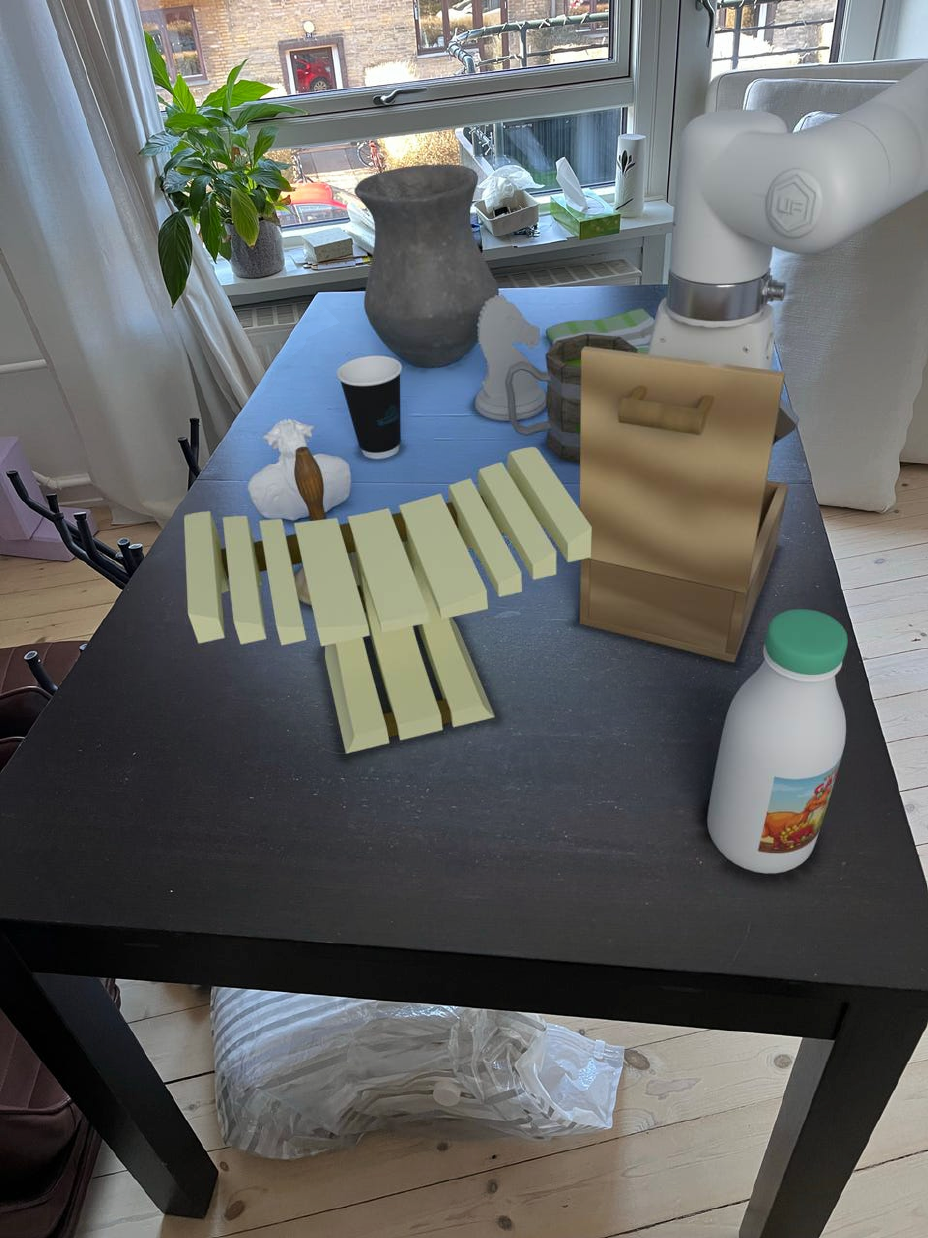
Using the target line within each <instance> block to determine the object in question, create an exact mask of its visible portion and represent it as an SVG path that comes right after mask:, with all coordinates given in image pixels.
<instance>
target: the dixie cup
mask: <svg viewBox="0 0 928 1238" xmlns="http://www.w3.org/2000/svg"><path fill="white" fill-rule="evenodd" d="M402 370H403V365H402V363H401V362H400V361H399V360H397V359H396V358H393V357H392V356H391V357H390V356H385V355H368V356H366V355H365V356H361V357H357V358H353V359H351V360H348V361H346V362H344V363H343V364H341V365H340V366H339V367H338V369H337V370H336V377H337V379H338V380H339V381H340V383H341V387H342V391H343V395H344V397H345V401H346V405H347V408H348V413H349V415H350V419H351V423H352V426H353V429H354V433H355V436H356V441H357V443H358V447H359V448H360V449H361V452H362V454H363V455H364V456H365V457H366V458H369V459H372V460H381V459H388V458H390V457H392V456H394V455H396V454H397V453H398V452H399V450H400V444H401V442H402V438H401V437H402V433H401V432H402V431H401V429H402V427H401V415H402V414H401V373H402Z"/></svg>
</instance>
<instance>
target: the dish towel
mask: <svg viewBox="0 0 928 1238" xmlns="http://www.w3.org/2000/svg"><path fill="white" fill-rule="evenodd" d="M654 321H655V318H653V317H652V316H651V315H650V314H649V313H648V312H647V311H646V310H645V309H644V308H636V309H632V310H630V311H627V312H623V313H621V314H617V315H612V316H608V317H603V318H601V319H597V320H595V319H594V320H592V319H590V320H589V319H585V320H569V321H564V322H560V323H557V324H554V325H552V326H550V327H548V328H546V329H545V335H546V338H547V340H548V342H549V343H550V344H551V347H552V346H553V345H554V343H555V342H556V341H558V340H562V339H567V338H571V337H575V336H579V335H584V334H596V335H606V336H616V337H621V338H622V339H624V340H625V341H627V342H628V343H630V344H631V345H632V346H634V347H635V348H637V349H638V350H637V353H641V354H647V353H648V348H649V342H650V338H651V333H652V329H653V324H654Z"/></svg>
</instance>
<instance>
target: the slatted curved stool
mask: <svg viewBox="0 0 928 1238" xmlns="http://www.w3.org/2000/svg"><path fill="white" fill-rule="evenodd" d="M477 471H478V472H477V487H476V486H475V483H474V482H473V480H472V478H471V477H470V478H467V479H464V480H460V481H458V482H455V483H452V484H449V485H448V502H446V501H445V500H444V499H445V498H444V497H443V495H442V494H441V493H437V494H434V495H431V496H427V497H424V498H420V499H417V500H413V501H410V502H406V503H403V504H399V505H398V512H396V513H395V512H394V513H392V512H391V510H390V508H389V507H387V508H383V509H378V510H375V511H370V512H365V513H359V514H353V515H348V516H347V523H342V524H340V523H339V519H338V517H334V518H327V519H325V520H317V521H310V520H309V521H301V522H300V521H299V522H294V524H293V525H294V529H295V533H292V534H288V535H287V533H286V530H285V526H284V521H283V519H263V520H259V521H258V522H259V527H260V535H261V540H259V541H255V539H254V535H253V532H252V528H251V524H250V521H249V517H248V515H233V516H223V517H222V523H223V532H224V542H225V547H224V548H223V546H222V542H221V539H220V536H219V533H218V529H217V526H216V523H215V520H214V518H213V515H212V513H211V511H208V510H207V511H199V512H193V513H187V514H185V515H184V516H183V521H184V523H183V524H184V525H183V526H184V550H185V572H186V573H185V574H186V575H185V577H186V597H187V599H186V601H187V615H188V618H189V620H190V624H191V626H192V628H193V632H194V635H195V638H196V640H197V644H203V643H207V642H212V641H216V640H220V639H225V638H226V637H225V636H226V635H225V624H224V612H223V611H224V610H223V596H222V595H223V594H224V593H227V592H229V591H230V600H231V609H232V619H233V624H234V627H235V631H236V634H237V637H238V640H239V644H240V645H245V644H249V643H254V642H258V641H262V640H267V633H266V627H265V619H264V612H263V611H264V610H263V604H262V597H261V588H260V587H261V586H263V580H262V573H261V572H266V571H267V576H268V577H267V579H268V583H269V589H270V597H271V602H272V607H273V614H274V615H273V616H274V619H275V625H276V630H277V634H278V638H279V642H280V645H281V646H286V645H291V644H294V643H299V642H303V641H307V640H308V639H307V634H306V630H305V625H304V620H303V614H302V610H301V605H300V600H299V599H298V594H297V583H296V578H295V577H296V573H295V569H294V566H295V565H300V564H302V567H303V566H304V571H305V576H306V580H307V585H308V589H309V594H310V599H311V603H312V606H311V607H312V610H313V611H312V612H313V616H314V621H315V626H316V630H317V635H318V638H319V642H320V646H321V647H324V659H325V665H326V669H327V673H328V678H329V682H330V688H331V692H332V696H333V697H332V698H333V701H334V705H335V710H336V715H337V718H338V719H337V720H338V723H339V728H340V733H341V738H342V741H343V742H342V743H343V746H344V750H345V751H344V752H345V754H350V753H355V752H358V751H359V752H360V751H364V750H366V749H371V748H375V747H379V746H383V745H387V744H390V739H389V738H392V737H396V736H398V739H399V741H403V740H408V739H412V738H416V737H421V736H424V735H428V734H432V733H436V732H440V731H443V730H444V729H443V725H446V724H449V723H451V725H452V727H453V728H457V727H461V726H464V725H468V724H472V723H477V722H480V721H485V720H489V719H493V718H496V716H495V713H494V711H493V708H492V706H491V704H490V701H489V699H488V697H487V694H486V692H485V689H484V687H483V685H482V682H481V680H480V677H479V675H478V672H477V669H476V667H475V666H474V663H473V660H472V658H471V655H470V653H469V650H468V648H467V645H466V643H465V641H464V638H463V636H462V634H461V630H460V628H459V627H458V625H457V623H456V622H455V620H454V617H459V616H462V615H466V614H467V615H468V614H472V613H477V612H480V611H484V610H485V611H486V610H488V609H489V607H488V606H489V604H488V591H487V588H486V585H485V583H484V581H483V580H482V577H481V575H480V573H479V571H478V569H477V567H476V565H475V562H474V561H473V558H472V556H471V554H470V552H469V550H471V549H472V550H473V552H474V553H475V555H476V557H477V558H478V560H479V562H480V563H481V566H482V568H483V569H484V571H485V572H486V574H487V577H488V579H489V580H490V582H491V585H492V586H493V589H494V590H495V592H496V594H497V597H498V598H500V597H505V596H509V595H514V594H519V593H522V592H523V582H522V577H523V576H522V571H521V569H520V567H519V565H518V564H517V562H516V560H515V558H514V556H513V553H512V552H511V550H510V548H509V547H508V545H507V543H506V541H505V539H504V537H503V536H502V535H503V534H504V535H505V536H506V537H507V539H508V541H509V542H510V543H511V545H512V546H513V548H514V549H515V551H516V553H517V554H518V556H519V557H520V559H521V561H522V563H523V564H524V566H525V568H526V569H527V571H528V572H529V575H530V576H531V579H532V580H534V581H535V580H539V579H543V578H547V577H548V578H549V577H553V576H556V575H557V550H556V548H555V547H554V545H553V544H552V542H551V540H552V541H553V542H554V544H555V545H556V547H557V548H558V550H559V551H560V552H561V554H562V556H563V557H564V559H565V560H566V562H567V563H571V562H576V561H581V559H585V558H590V557H591V532H592V527H591V526H590V524H589V523H588V521H587V520H586V518H585V517H584V515H583V514H582V512H581V511H580V507H578V505H577V504H576V502H575V501H574V499H573V498H572V497H571V494H569V492H568V491H567V490H566V488H565V486H564V485H563V483H562V482H561V480H560V479H559V478H558V477H557V475H556V473H555V472H554V471H553V469H552V468H551V466H550V464H549V463H548V462H547V460H546V459H545V457H544V456H543V455H542V453H541V452H540V450H539V449H538V448H537V447H535V446H528V447H523V448H519V449H516V450H512V451H510V452H509V453H508V455H507V461H506V467H505V465H504V463H503V462H502V461H501V462H497V463H494V464H491V465H488V466H485V467H482V468H479V469H478V470H477ZM543 528H544V529H545V530H546V532H547V533H548V535H549V536H550V538H551V540H550V539H549V537H548V536H547V534H546V532H545V530H544V529H543ZM348 553H352V554H353V556H354V558H355V562H356V568H357V573H358V579H359V584H360V585H358V586H357V585H356V582H355V578H354V575H353V571H352V568H351V565H350V561H349V558H348ZM414 626H417V628H418V632H419V635H420V639H421V641H422V644H423V647H424V650H425V652H426V655H427V658H428V661H429V663H430V667H431V669H432V671H433V675H434V677H435V680H436V684H437V686H438V689H439V691H440V695H441V697H442V699H441V700H437V699H436V697H435V694H434V690H433V688H432V685H431V681H430V679H429V676H428V672H427V669H426V667H425V664H424V660H423V657H422V653H421V650H420V648H419V644H418V641H417V638H416V634H415V630H414ZM369 636H370V640H371V644H372V648H373V652H374V655H375V658H376V661H377V666H378V668H379V672H380V675H381V679H382V682H383V686H384V689H385V693H386V696H387V699H388V704H389V706H390V711H391V712H387V713H383V709H382V706H381V702H380V698H379V694H378V691H377V688H376V682H375V680H374V676H373V673H372V669H371V665H370V661H369V657H368V653H367V649H366V645H365V642H364V638H365V637H369Z"/></svg>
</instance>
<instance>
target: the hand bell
mask: <svg viewBox="0 0 928 1238" xmlns="http://www.w3.org/2000/svg"><path fill="white" fill-rule="evenodd" d="M295 452H296V459H295V467H294V475H295V481H296V485H297V488H298V491H299V493H300V495H301V497H302V499H303V500H304V502H305V503H306V505H307V508H308V511H309V516H308V517H309V521H317V520H325V519H328V518H327V515H326V513H325V511H324V507H323V495H324V484H323V478H322V474H321V470H320V468H319V465H318V464H317V462H316V460H315V459H314V457H313V454H312V452H311V450H310V448H309V447H308V446H307V447H299V448H297V449H296V451H295ZM348 558H349V561H350V565H351V568H352V571H353V575H354V578H355V582H356V585H357V586H358V585H360V584H359V579H358V573H357V568H356V562H355V557H354V554H353V553H348ZM295 578H296V583H297V594H298V599H299V602H302V603H303V604H305V605H306V606H307V605H308V606H310V607H312V603H311V599H310V594H309V589H308V585H307V580H306V576H305V571H304V566H303V565H302V567H301V569H300V570H299V571H298V572H297V573H296V574H295Z"/></svg>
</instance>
